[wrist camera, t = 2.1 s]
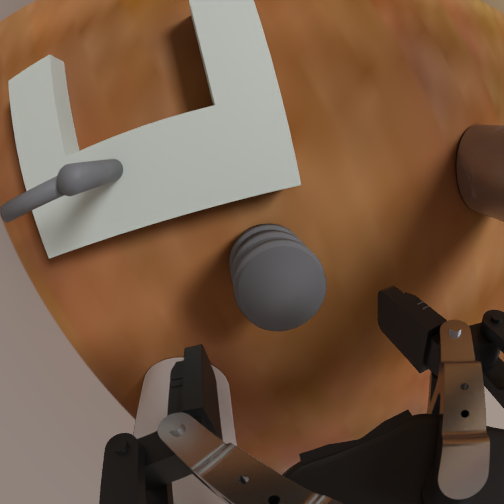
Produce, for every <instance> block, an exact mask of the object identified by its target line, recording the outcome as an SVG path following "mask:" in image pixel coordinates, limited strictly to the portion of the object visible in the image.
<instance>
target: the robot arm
mask: <svg viewBox="0 0 504 504" xmlns="http://www.w3.org/2000/svg"><path fill="white" fill-rule="evenodd" d="M457 179H458V185H459V189H460V193H461V195H462V197H463V200H464V201H465V203H466V204H467V206H468V207H469V208H471V209H472V210H474V211H476V212H479V213H482V214H484V215H487V216H490V217H493V218H495V219H498V220H500V221H503V222H504V126H500V125H473V126H471V127H470V128H469V129H468V130H466V132H465V133H464V135H463V137H462V139H461V142H460V144H459V149H458V153H457ZM378 324H379V327H380V329H381V330H382V332H383V333H384V334H385V335H386V336H387V337H388V338H389V339H390V341H391V342H392V343H393V344H394V345H395V346H396V347H397V348H398V349H399V350H400V351H401V353H402V354H403V355H404V356H405V357H406V358H407V359H408V360H409V362H410V363H411V364H412V365H413V366H414V367H415V368H416V369H417V370H418V372H419V373H422V372H424V371H425V370H427V369H430V371H431V374H430V384H429V398H428V408H427V414H418V415H413V416H412V415H411V413H410V412H409V410H406V411H404V412H402V413H400V414H398V415H396V416H394V417H392V418H390V419H388V420H386V421H384V422H383V423H381V424H380V425H379V426H377V427H376V428H375V429H373V430H372V431H371V432H369V433H368V434H367V435H365V436H364V437H362V438H361V439H358V440H353V441H347V442H341V443H335V444H328V445H325V446H322V447H320V448H317V449H314V450H310V451H307V452H304V453H301V454H299V455H300V460H301V461H300V462H298V463H297V464H295V465H293V466H292V467H291V468H289V469H288V470H287V471H286V472H284V473H283V474H282V475H281V474H279V473H278V472H276V471H274V470H273V469H271V468H270V467H268V466H266V465H265V464H263V463H262V462H260V461H258V460H257V459H255V458H254V457H252V456H251V455H249V454H248V453H246V452H245V451H243V450H242V449H240V448H239V447H238V446H236V445H234V444H232V443H228V444H226V443H225V442H223V438H222V429H221V421H220V412H219V402H218V393H217V383H216V378H215V374H214V371H213V369H212V366H211V364H210V361H209V359H208V357H207V354H206V352H205V349H204V347H203V345H202V344H200V345H196V346H192V347H187V348H185V350H184V360H183V361H178V362H176V363H175V365H174V366H173V368H172V370H171V374H170V385H169V388H170V389H169V397H168V410H167V417H165V418H164V419H163V420H162V421H161V422H160V424H159V426H158V430H157V431H155V432H153V433H151V434H149V435H146V436H144V437H141V438H138V439H136V437H135V436H133V435H132V434H129V433H121V434H118V435H115V436H114V437H112V438H111V439H110V440H109V441H108V443H107V445H106V447H105V453H104V461H103V469H102V479H101V490H100V502H99V503H100V504H174V502H173V491H172V482H174V481H176V480H179V479H181V478H184V477H186V476H189V475H191V474H193V475H194V476H195V477H196V478H197V479H198V480H199V481H200V482H201V483H202V484H204V485H205V486H206V487H207V488H208V489H209V490H211V491H212V492H213V493H214V494H215V495H216V496H218V497H219V498H220V499H221V500H222V501H224V502H225V503H226V504H504V429H499V428H493V427H489V426H486V408H485V393H484V386H485V387H486V388H487V389H488V391H489V392H490V393H491V394H492V395H493V396H494V397H495V399H496V400H497V401H498V402H499V403H500V404H501V406H502V407H503V408H504V362H503V361H502V360H501V359H500V358H499V357H498V356H499V354H500V351H502V352H503V353H504V312H502V311H499V310H490V311H487V312H486V313H485V314H484V315H483V319H482V323H478V324H475V325H471V326H468V325H467V324H466V323H465V322H463V321H460V320H449V321H447V320H446V319H444V318H443V317H442V316H441V315H439V314H438V313H437V312H436V311H434V310H433V309H432V308H431V307H428V305H427V304H425V303H424V302H423V301H422V300H420V299H419V298H418V297H416V296H415V295H412V294H409V293H403V292H402V291H400V290H399V289H398V288H396V287H395V286H392V287H389V288H387V289H384V290H381V291H379V293H378Z"/></svg>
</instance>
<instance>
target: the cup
mask: <svg viewBox="0 0 504 504" xmlns="http://www.w3.org/2000/svg"><path fill="white" fill-rule="evenodd" d="M183 360H184V358H183V357H179V358H170V359H166V360H163V361H160V362H158V363H156V364H155V365H153V366H152V367H151V368H150V369H149V370H148V371H147V373H146V375H145V378H144V382H143V386H142V391H141V396H140V401H139V406H138V411H137V416H136V421H135V427H134V432H133V436H135V437H136V439H138V438H141V437H144V436H146V435H149V434H151V433H153V432H155V431H157V430H158V426H159V424H160V422H161V421H162V420H163V419H164V418H165V417H167V410H168V397H169V389H170V388H169V385H170V374H171V370H172V368H173V366H174V365H175V363H176V362H178V361H183ZM211 366H212V369H213V371H214V374H215V378H216V383H217V393H218V402H219V412H220V421H221V429H222V438H223V442H225V443H226V444H228V443H232V444H234V445H236V437H235V430H234V422H233V414H232V406H231V397H230V389H229V383H228V381H227V379H226V377H225V376H224V374H223V373H222V372H221V371H220V370H219V369H217V368H216V367H214V366H213V365H211ZM236 446H237V445H236ZM172 491H173V502H174V504H226V503H225V502H224V501H222V500H221V499H220V498H219V497H218V496H216V495H215V494H214V493H213V492H212V491H211V490H209V489H208V488H207V487H206V486H205V485H204V484H202V483H201V482H200V481H199V480H198V479H197V478H196V477H195V476H194V475H193V474H191V475H189V476H186V477H184V478H181V479H179V480H176V481H174V482H172Z"/></svg>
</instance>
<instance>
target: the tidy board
mask: <svg viewBox="0 0 504 504" xmlns="http://www.w3.org/2000/svg"><path fill="white" fill-rule="evenodd" d="M189 3H190V11H191V17H192V21H193V25H194V29H195V33H196V37H197V41H198V46H199V50H200V54H201V58H202V62H203V66H204V70H205V74H206V78H207V82H208V86H209V90H210V94H211V98H212V102H213V106H209V107H205V108H201V109H197V110H194V111H190V112H186V113H183V114H179V115H176V116H173V117H169V118H166V119H163V120H160V121H157V122H153V123H150V124H147V125H144V126H142V127H139V128H136V129H133V130H130V131H128V132H125V133H122V134H119V135H117V136H114V137H112V138H109V139H107V140H104V141H102V142H99V143H97V144H95V145H92V146H90V147H88V148H85V149H83V150H81V151H79V147H78V142H77V138H76V133H75V128H74V123H73V118H72V113H71V107H70V102H69V95H68V89H67V82H66V74H65V66H64V62H63V61H61V60H59V59H57V58H55V57H54V56H52V55H48V56H46V57H45V58H43V59H41V60H40V61H38V62H36V63H35V64H33V65H31V66H30V67H28V68H27V69H25V70H24V71H22V72H21V73H19V74H18V75H16V76H15V77H13V78H12V79H11V80H9V81H8V83H9V96H10V107H11V115H12V123H13V130H14V136H15V142H16V147H17V153H18V158H19V162H20V167H21V171H22V176H23V180H24V184H25V187H26V192H24V193H22V194H21V195H19V196H17V197H15V198H13V199H12V200H10V201H8V202H7V203H5V204H3V205H2V206H1V209H0V213H1V217H2V219H3V220H4V221H5V222H10V221H12V220H14V219H16V218H18V217H20V216H22V215H24V214H26V213H28V212H30V211H32V212H33V215H34V218H35V221H36V224H37V227H38V230H39V233H40V236H41V239H42V242H43V244H44V247H45V250H46V252H47V255H48V257H49V259H50V258H52V257H55V256H58V255H61V254H64V253H66V252H69V251H72V250H75V249H78V248H81V247H83V246H86V245H89V244H92V243H95V242H98V241H101V240H104V239H107V238H110V237H113V236H116V235H119V234H123V233H126V232H129V231H132V230H135V229H138V228H142V227H145V226H148V225H151V224H155V223H158V222H161V221H165V220H168V219H172V218H175V217H178V216H182V215H185V214H189V213H192V212H196V211H200V210H203V209H207V208H210V207H214V206H218V205H222V204H225V203H229V202H233V201H237V200H241V199H245V198H249V197H253V196H257V195H261V194H265V193H269V192H273V191H277V190H281V189H286V188H290V187H294V186H299V185H301V182H300V177H299V172H298V167H297V162H296V158H295V153H294V148H293V144H292V139H291V135H290V131H289V126H288V122H287V118H286V114H285V110H284V105H283V101H282V97H281V93H280V90H279V86H278V82H277V78H276V74H275V71H274V67H273V63H272V60H271V56H270V52H269V49H268V45H267V42H266V39H265V35H264V32H263V28H262V25H261V22H260V19H259V15H258V12H257V9H256V6H255V3H254V0H189Z"/></svg>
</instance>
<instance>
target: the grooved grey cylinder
mask: <svg viewBox="0 0 504 504" xmlns="http://www.w3.org/2000/svg"><path fill="white" fill-rule="evenodd" d="M229 267H230V273H231V279H232V284H233V290H234V295H235V300H236V302H237V305H238V307H239V309H240V310H241V311H242V313H243V314H244V315H245V316H246V317H247V319H248V320H249V321H250V322H252V323H253V324H254V325H256V326H258V327H260V328H262V329H265V330H270V331H285V330H290V329H293V328H296V327H298V326H300V325H302V324H304V323H305V322H307V321H308V320H309V319H311V318H312V317H313V316H314V315H315V314H316V312H317V311H318V310H319V308H320V307H321V305H322V303H323V301H324V298H325V294H326V278H325V275H324V270H323V267H322V265H321V263H320V261H319V259H318V258H317V257H316V255H315V254H314V253H313V252H312V251H311V250H310V249H308V248H307V246H306V245H305V244H304V243H303V242H302V241H301V240H300V239H299V238H298V237H297V236H296V235H295V234H294V233H292V232H291V231H290V230H289V229H287V228H285V227H283V226H280V225H276V224H260V225H256V226H253V227H251V228H249V229H247V230H246V231H244V232H243V233H242V234H241V235H240V236H239V237H238V238H237V240H236V241H235V243H234V244H233V246H232V249H231V252H230V256H229Z"/></svg>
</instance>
